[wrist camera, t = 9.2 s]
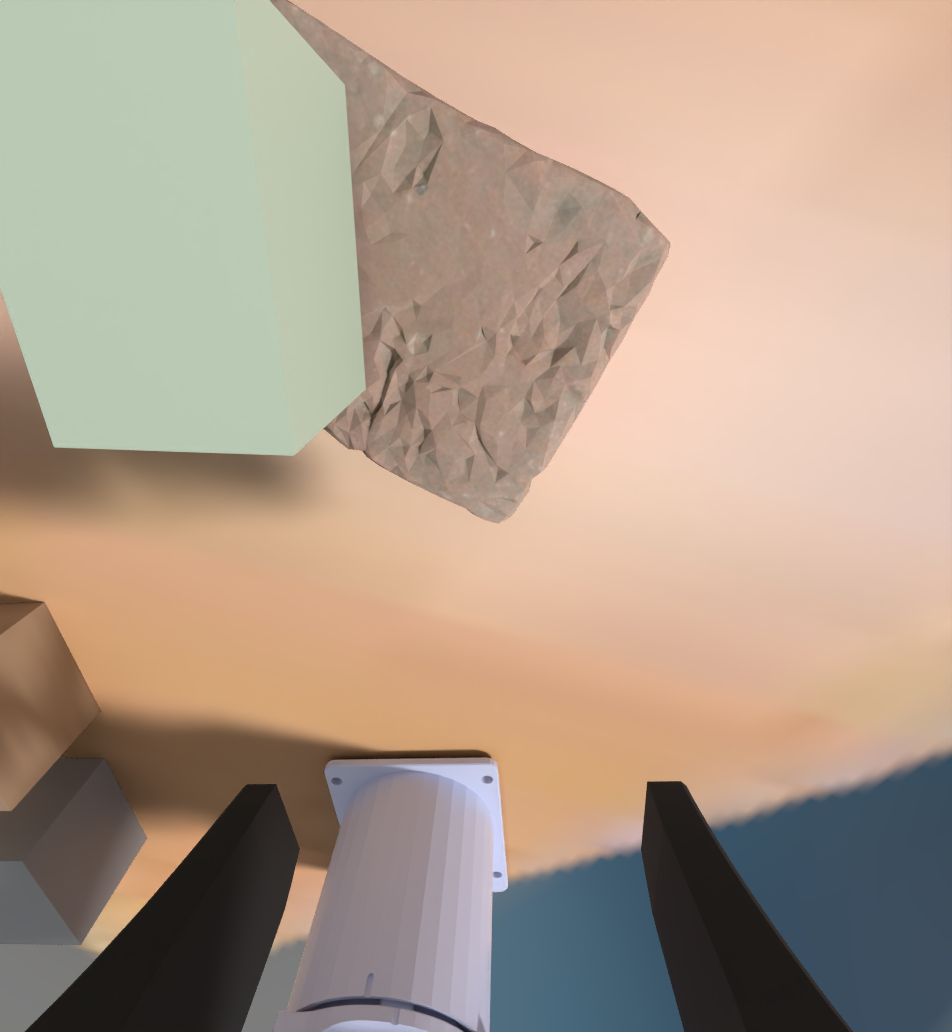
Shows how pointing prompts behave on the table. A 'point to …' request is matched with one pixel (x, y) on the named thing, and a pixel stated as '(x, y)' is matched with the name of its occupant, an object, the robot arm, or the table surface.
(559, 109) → the table surface
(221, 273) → the green block
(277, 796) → the robot arm
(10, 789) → the walnut block
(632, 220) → the brick
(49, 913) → the grey block
